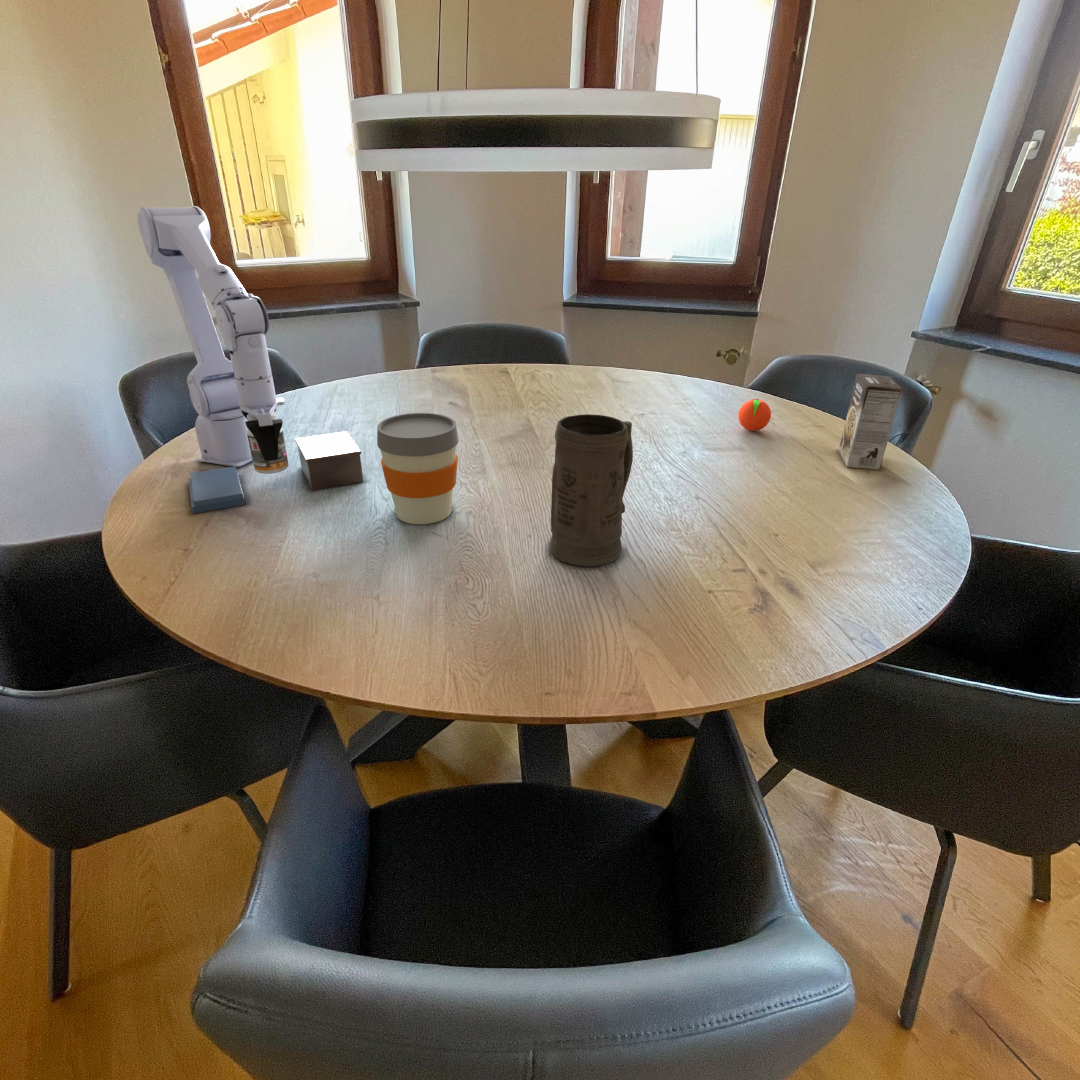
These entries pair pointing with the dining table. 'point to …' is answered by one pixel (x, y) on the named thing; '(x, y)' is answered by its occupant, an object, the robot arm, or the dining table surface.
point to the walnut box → (330, 460)
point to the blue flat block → (215, 489)
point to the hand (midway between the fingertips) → (268, 453)
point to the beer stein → (589, 488)
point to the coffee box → (869, 420)
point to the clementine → (754, 415)
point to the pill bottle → (256, 454)
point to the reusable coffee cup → (419, 464)
